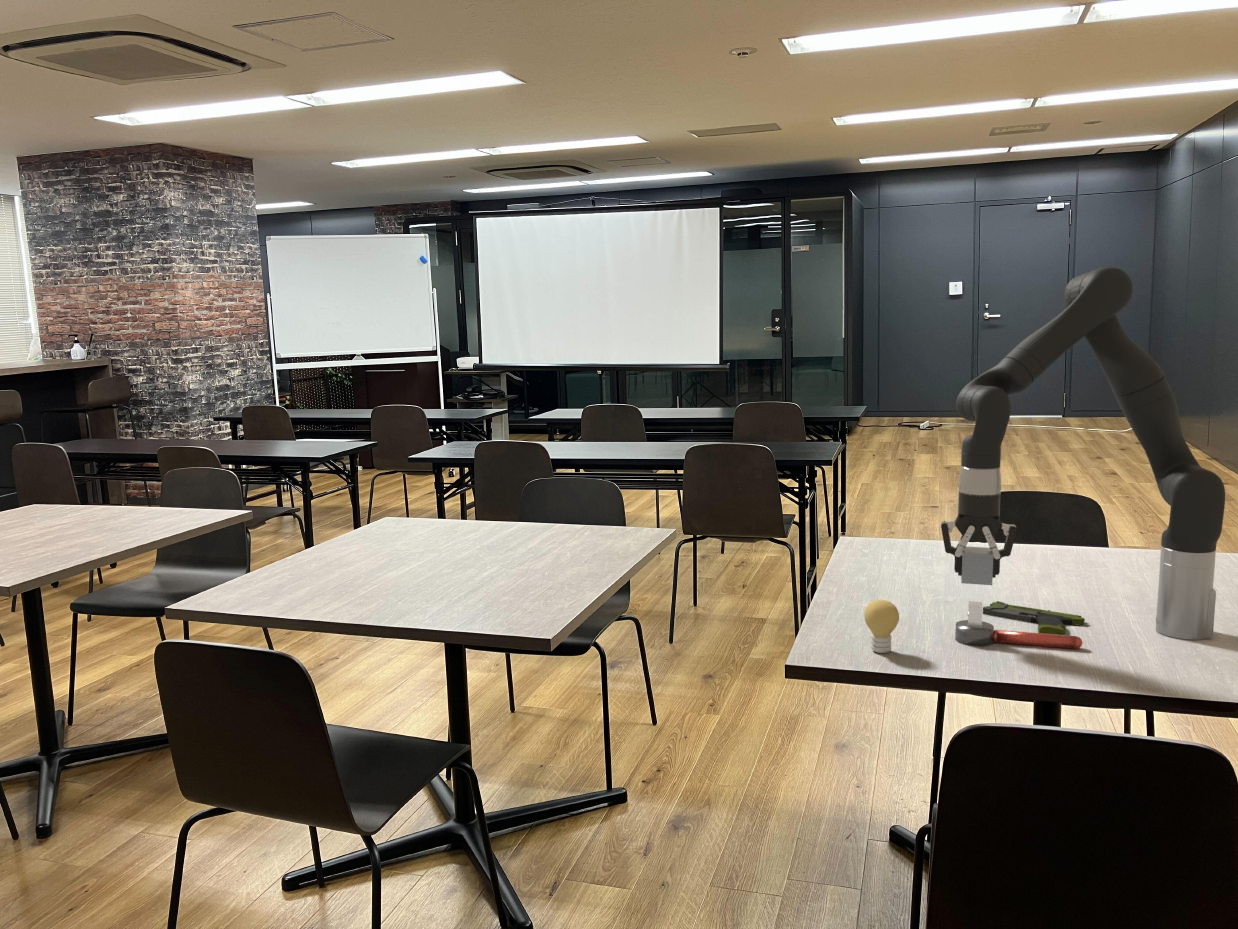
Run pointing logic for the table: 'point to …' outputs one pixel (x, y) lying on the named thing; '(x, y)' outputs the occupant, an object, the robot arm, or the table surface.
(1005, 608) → the gun
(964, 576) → the grey bevelled cube
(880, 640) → the light bulb
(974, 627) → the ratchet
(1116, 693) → the table surface
